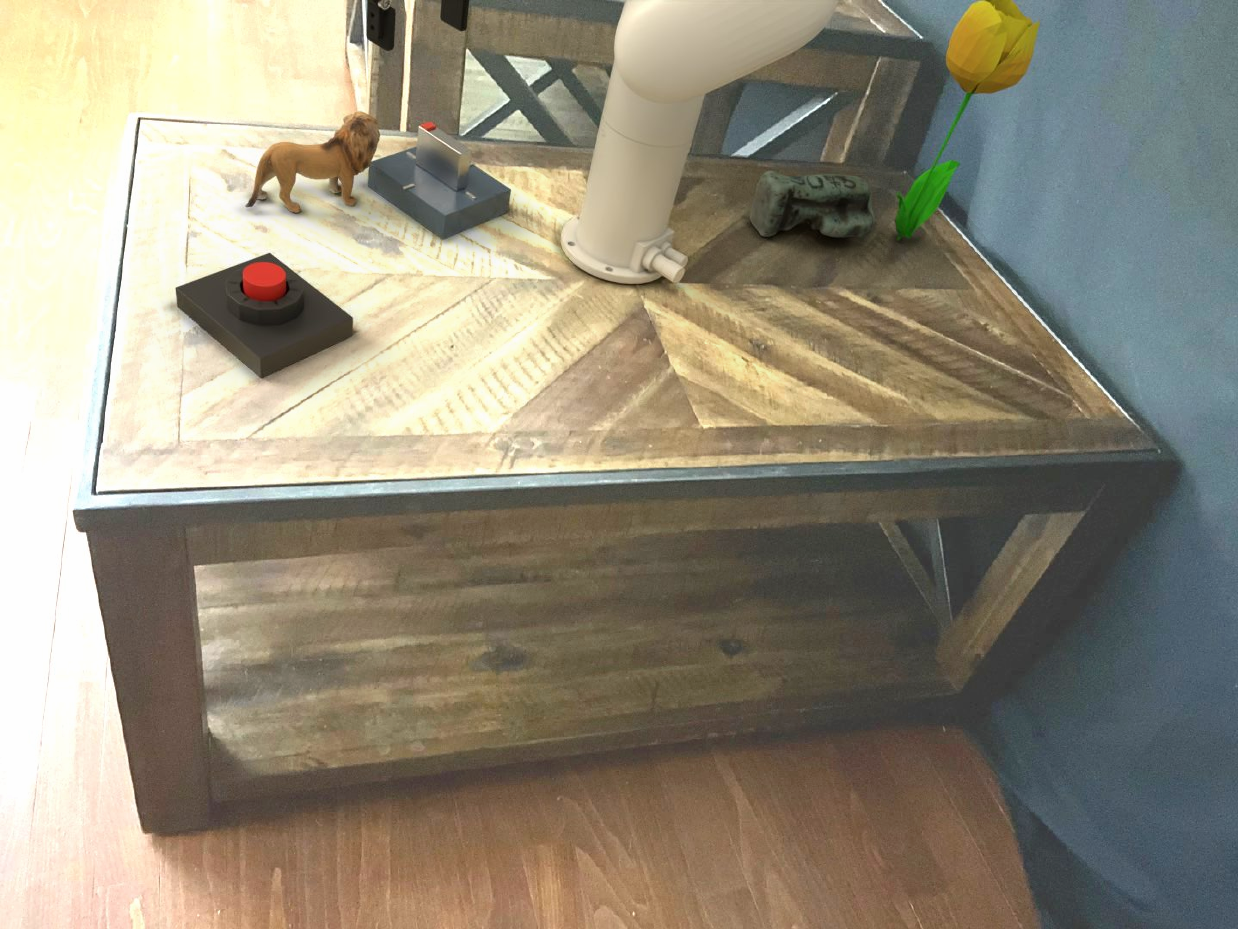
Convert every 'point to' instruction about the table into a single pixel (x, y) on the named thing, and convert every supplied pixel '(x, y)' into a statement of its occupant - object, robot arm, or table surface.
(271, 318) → the button box
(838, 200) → the sculpture
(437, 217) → the panel
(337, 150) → the lion figurine
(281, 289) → the red button
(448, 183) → the tap handle
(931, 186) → the flower
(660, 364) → the table surface
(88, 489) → the table surface
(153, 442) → the table surface
